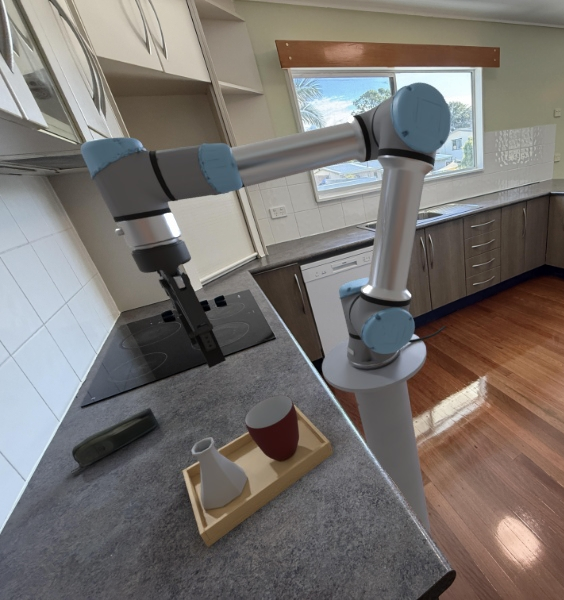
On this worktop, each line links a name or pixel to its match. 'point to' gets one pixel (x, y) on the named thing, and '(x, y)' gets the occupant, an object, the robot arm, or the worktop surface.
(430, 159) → the robot arm
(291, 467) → the tray
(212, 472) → the flask
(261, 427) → the mug
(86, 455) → the dark green pencil case
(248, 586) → the worktop surface
